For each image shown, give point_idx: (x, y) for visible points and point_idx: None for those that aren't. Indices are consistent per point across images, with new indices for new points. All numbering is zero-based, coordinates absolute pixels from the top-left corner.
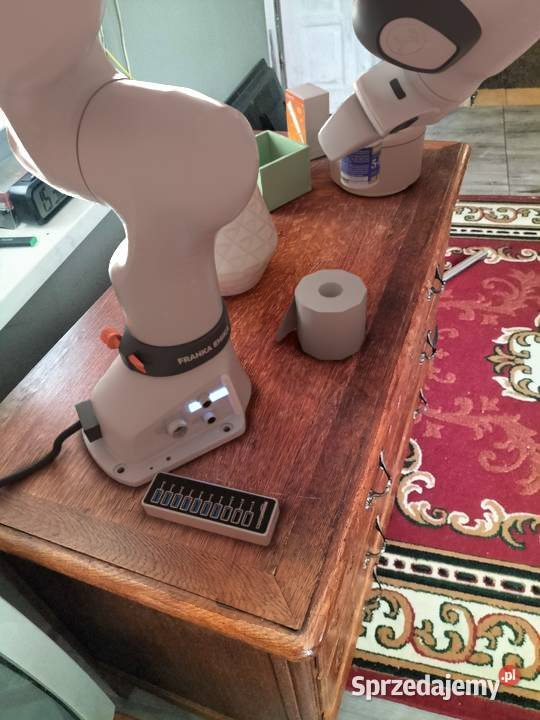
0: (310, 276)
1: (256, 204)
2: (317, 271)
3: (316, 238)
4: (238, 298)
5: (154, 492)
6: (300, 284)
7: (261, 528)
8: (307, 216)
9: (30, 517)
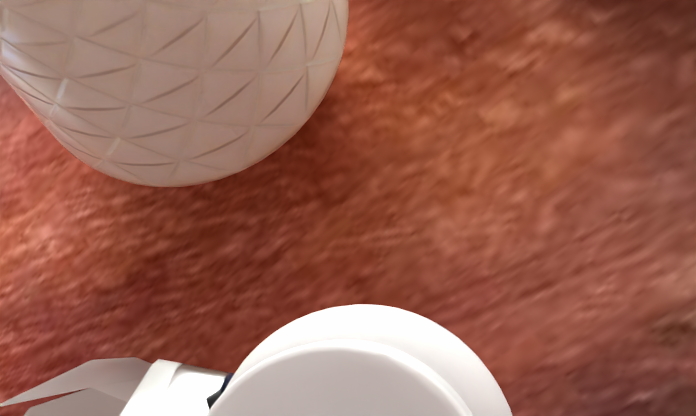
0: (107, 405)
1: (134, 75)
2: None
3: (513, 142)
4: None
5: None
6: (59, 404)
7: None
8: (597, 36)
9: None
